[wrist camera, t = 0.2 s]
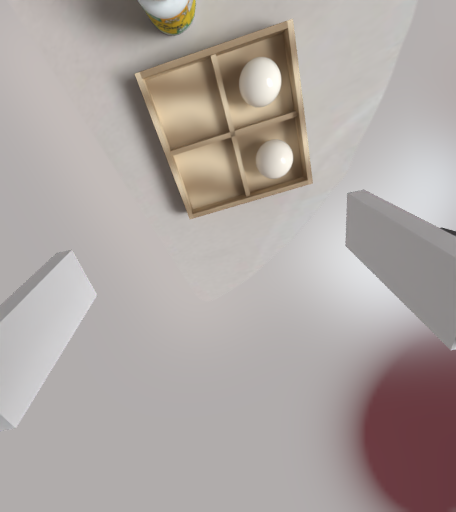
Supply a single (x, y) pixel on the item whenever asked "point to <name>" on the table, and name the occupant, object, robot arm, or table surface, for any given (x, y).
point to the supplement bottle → (170, 14)
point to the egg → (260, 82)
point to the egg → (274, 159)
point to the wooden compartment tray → (227, 121)
